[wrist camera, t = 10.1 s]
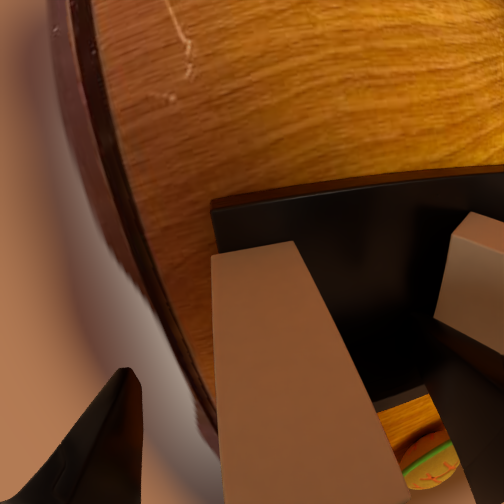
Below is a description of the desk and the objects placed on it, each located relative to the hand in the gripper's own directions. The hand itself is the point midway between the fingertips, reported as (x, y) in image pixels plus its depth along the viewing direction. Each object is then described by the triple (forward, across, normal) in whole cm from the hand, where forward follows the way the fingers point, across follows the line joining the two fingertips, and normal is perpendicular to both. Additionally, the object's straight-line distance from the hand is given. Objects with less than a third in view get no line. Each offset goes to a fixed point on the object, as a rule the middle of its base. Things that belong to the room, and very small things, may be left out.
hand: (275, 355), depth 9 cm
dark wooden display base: (+3, -8, 0) cm, 8 cm away
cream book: (+2, 0, 0) cm, 2 cm away
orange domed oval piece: (+3, -13, +22) cm, 26 cm away
